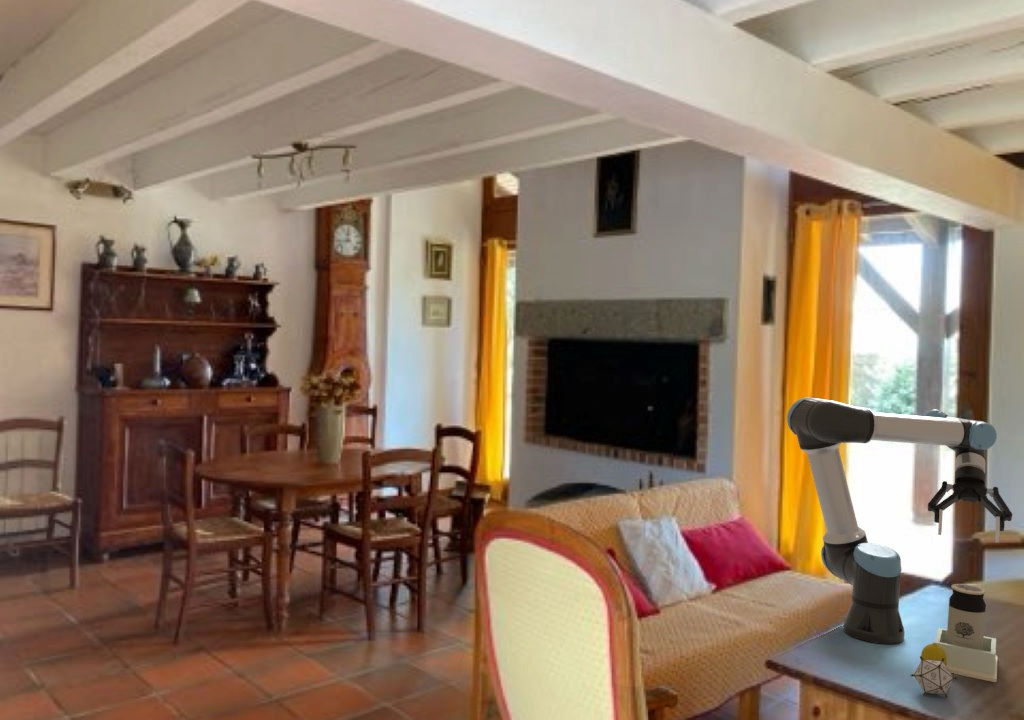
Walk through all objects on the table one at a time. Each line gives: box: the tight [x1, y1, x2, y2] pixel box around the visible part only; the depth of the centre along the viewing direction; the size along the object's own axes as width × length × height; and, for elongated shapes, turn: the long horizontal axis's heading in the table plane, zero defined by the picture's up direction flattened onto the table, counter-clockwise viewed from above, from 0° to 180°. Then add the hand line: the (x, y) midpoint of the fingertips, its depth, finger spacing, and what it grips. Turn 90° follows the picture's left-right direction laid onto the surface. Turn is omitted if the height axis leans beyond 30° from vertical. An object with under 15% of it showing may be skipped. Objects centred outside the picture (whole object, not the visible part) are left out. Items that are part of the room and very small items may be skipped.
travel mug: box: [946, 583, 987, 651], centre depth 209 cm, size 8×8×18 cm
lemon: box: [920, 642, 947, 665], centre depth 200 cm, size 6×6×8 cm
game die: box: [910, 655, 959, 699], centre depth 189 cm, size 9×8×10 cm
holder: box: [934, 627, 998, 683], centre depth 209 cm, size 18×14×6 cm
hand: (968, 536), depth 225 cm, fingers open, 13 cm apart
